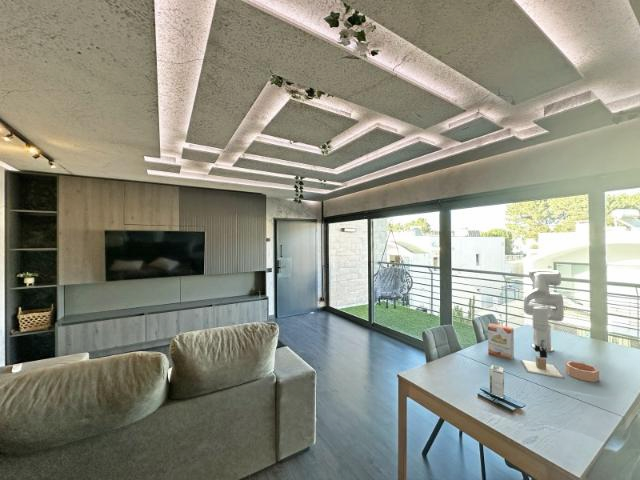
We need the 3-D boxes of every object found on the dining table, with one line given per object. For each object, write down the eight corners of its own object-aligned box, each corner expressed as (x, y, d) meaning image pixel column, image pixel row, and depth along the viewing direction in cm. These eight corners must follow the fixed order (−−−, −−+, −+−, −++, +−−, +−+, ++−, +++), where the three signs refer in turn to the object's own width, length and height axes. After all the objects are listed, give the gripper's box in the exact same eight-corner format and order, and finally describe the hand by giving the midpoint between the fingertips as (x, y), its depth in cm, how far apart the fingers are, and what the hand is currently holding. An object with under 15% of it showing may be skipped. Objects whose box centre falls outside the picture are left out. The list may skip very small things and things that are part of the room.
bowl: (563, 369, 162) (563, 359, 162) (591, 374, 156) (591, 364, 156) (572, 379, 150) (571, 369, 150) (602, 384, 144) (602, 374, 145)
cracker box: (487, 353, 186) (487, 324, 186) (491, 351, 189) (490, 322, 189) (511, 360, 174) (510, 329, 175) (514, 358, 178) (513, 327, 178)
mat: (519, 360, 174) (519, 360, 174) (554, 366, 166) (554, 365, 166) (526, 373, 158) (526, 372, 158) (565, 380, 150) (565, 379, 150)
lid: (521, 361, 172) (521, 350, 173) (553, 366, 165) (552, 355, 165) (528, 372, 158) (528, 360, 158) (562, 378, 151) (562, 366, 151)
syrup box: (491, 391, 140) (490, 364, 140) (504, 395, 136) (504, 367, 136) (489, 396, 135) (489, 368, 135) (503, 400, 131) (503, 371, 131)
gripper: (529, 322, 171) (529, 348, 171) (536, 329, 156) (537, 358, 155) (543, 324, 168) (543, 350, 167) (553, 331, 152) (553, 361, 152)
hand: (540, 354), depth 161 cm, fingers open, 9 cm apart
